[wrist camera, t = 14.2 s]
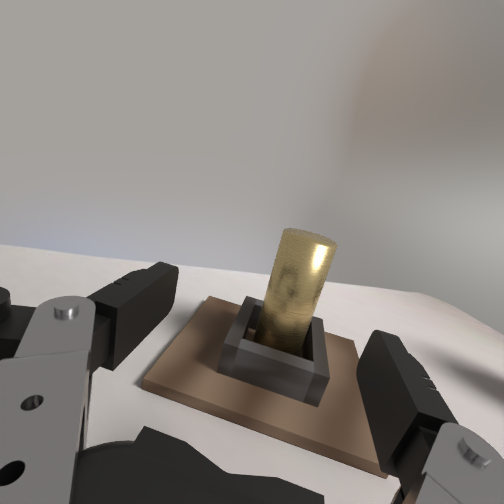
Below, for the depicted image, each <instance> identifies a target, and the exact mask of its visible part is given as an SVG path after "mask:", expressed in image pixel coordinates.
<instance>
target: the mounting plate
mask: <svg viewBox="0 0 504 504" xmlns="http://www.w3.org/2000/svg"><path fill="white" fill-rule="evenodd" d="M263 302H264V301H262V300H258V299H255V298H252V297H248V296H246V298H245V300H244V302H243V304H242V306H241V305H237V304H234V303H231V302H228V301H225V300H221V299H218V298H215V297H212V296H209V297H208V298H207V299H206V301H205V302H204V303H203V304H202V306H201V307H200V308H199V309H198V311H197V312H196V313H195V314H194V316H193V317H192V318H191V319H190V321H189V322H188V323H187V324H186V326H185V327H184V328H183V329H182V331H181V332H180V333H179V334H178V336H177V337H176V338H175V339H174V340H173V342H172V343H171V344H170V345H169V347H168V348H167V349H166V350H165V352H164V353H163V354H162V355H161V357H160V358H159V359H158V360H157V362H156V363H155V364H154V365H153V367H152V368H151V369H150V370H149V372H148V373H147V374H146V375H145V377H144V378H143V383H142V389H144V390H146V391H149V392H152V393H155V394H157V395H160V396H163V397H165V398H168V399H171V400H174V401H176V402H179V403H182V404H184V405H187V406H190V407H193V408H195V409H198V410H201V411H203V412H206V413H209V414H212V415H214V416H217V417H220V418H222V419H225V420H228V421H231V422H233V423H236V424H239V425H241V426H244V427H247V428H250V429H252V430H255V431H258V432H260V433H263V434H266V435H269V436H271V437H274V438H277V439H279V440H282V441H285V442H288V443H290V444H293V445H296V446H298V447H301V448H304V449H307V450H309V451H312V452H315V453H318V454H320V455H323V456H326V457H328V458H331V459H334V460H337V461H339V462H342V463H345V464H347V465H350V466H353V467H356V468H358V469H361V470H364V471H366V472H369V473H372V474H375V475H377V476H380V477H383V478H385V479H387V477H388V475H389V474H386V473H384V472H381V470H380V466H379V462H378V458H377V454H376V451H375V447H374V443H373V439H372V435H371V431H370V428H369V424H368V420H367V416H366V412H365V409H364V405H363V401H362V397H361V393H360V389H359V386H358V382H357V377H356V370H357V365H358V362H359V357H358V354H357V351H356V347H355V344H354V341H353V340H350V339H347V338H343V337H340V336H337V335H334V334H331V333H327V332H324V327H323V319H320V318H317V317H314V316H312V319H311V322H310V325H309V328H308V330H307V333H306V336H305V339H304V342H303V344H302V347H301V350H300V353H299V356H298V357H297V356H294V355H291V354H288V353H285V352H282V351H279V350H276V349H273V348H270V347H267V346H263V345H260V344H257V343H254V342H252V341H253V338H254V334H255V331H256V327H257V323H258V320H259V316H260V313H261V309H262V305H263Z"/></svg>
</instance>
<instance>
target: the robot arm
mask: <svg viewBox="0 0 504 504" xmlns="http://www.w3.org/2000/svg"><path fill="white" fill-rule="evenodd" d="M178 274H179V269H178V267H176V266H173V265H170V264H167V263H164V262H158V263H156V264H155V265H153V266H151V267H150V268H148V269H141V270H137V271H132V272H130V273H128V274H126V275H125V276H123V277H122V278H119V279H118V280H116V281H114V283H111V284H109V285H107V286H105V287H103V288H102V289H100V290H98V291H96V292H95V293H93V294H91V295H89V296H88V297H86V298H85V297H80V296H64V297H58V298H54V299H50V300H48V301H46V302H44V303H42V304H41V305H39V306H38V307H27V306H18V305H11V300H10V293H9V291H8V290H7V289H5V288H2V287H0V504H324V495H321V494H319V493H316V492H313V491H311V490H308V489H306V488H303V487H301V486H298V485H295V484H293V483H290V482H288V481H285V480H283V479H280V478H277V477H265V476H252V475H240V474H230V473H227V472H225V471H223V470H222V469H220V468H219V467H218V466H217V465H215V464H214V463H213V462H211V461H210V460H209V459H207V458H206V457H205V456H204V455H202V454H201V453H200V452H198V451H197V450H196V449H194V448H193V447H192V446H191V445H189V444H188V443H187V442H185V441H182V440H180V439H177V438H174V437H172V436H169V435H167V434H164V433H162V432H159V431H156V430H154V429H151V428H149V427H146V426H144V427H143V429H142V430H141V432H140V433H139V435H138V436H137V438H136V440H135V441H115V442H109V443H103V444H100V445H96V446H93V447H90V448H87V449H86V442H87V430H88V419H89V409H90V399H91V389H92V378H93V372H95V371H96V370H97V369H98V368H99V367H103V368H106V369H108V370H111V371H114V370H115V368H116V367H117V366H118V365H119V364H120V363H121V362H122V361H123V360H124V359H125V358H126V357H127V356H128V355H129V354H130V353H131V352H132V351H133V350H134V349H135V348H136V347H137V346H138V345H139V344H140V343H141V342H142V341H143V340H144V339H145V337H146V336H147V335H148V334H149V333H150V332H151V331H152V330H153V329H154V328H155V327H156V326H157V325H158V324H159V323H160V322H161V321H162V320H163V319H164V318H165V317H166V316H167V315H168V313H169V312H170V310H171V308H172V306H173V303H174V299H175V293H176V287H177V280H178ZM356 377H357V382H358V386H359V389H360V393H361V397H362V401H363V405H364V409H365V412H366V416H367V420H368V424H369V428H370V431H371V435H372V439H373V443H374V447H375V451H376V454H377V458H378V462H379V466H380V470H381V472H384V473H386V474H389V475H392V476H394V477H397V478H399V481H400V484H401V486H400V488H399V489H398V490H397V492H396V493H395V495H394V497H393V499H392V502H391V504H504V459H503V458H502V457H501V455H500V454H499V453H498V452H497V451H496V450H495V449H494V448H493V447H492V446H491V445H490V444H489V443H487V442H486V441H485V440H484V439H483V438H481V437H480V436H479V435H477V434H476V433H474V432H473V431H471V430H469V429H467V428H465V427H463V426H461V425H459V424H458V422H457V420H456V419H455V417H454V416H453V414H452V412H451V411H450V409H449V408H448V406H447V404H446V403H445V401H444V400H443V398H442V396H441V395H440V393H439V391H437V390H436V387H435V385H434V383H433V382H432V380H430V377H429V375H428V374H427V372H426V371H425V369H424V367H423V366H422V365H421V364H420V363H419V362H418V361H417V360H416V359H415V358H414V357H413V356H412V355H411V354H409V353H408V352H407V350H406V348H405V347H404V345H403V343H402V342H401V340H400V338H399V337H398V336H396V335H393V334H390V333H386V332H383V331H380V330H374V331H373V333H372V334H371V336H370V338H369V340H368V342H367V345H366V347H365V349H364V351H363V353H362V355H361V357H360V359H359V362H358V365H357V370H356Z"/></svg>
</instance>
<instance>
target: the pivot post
mask: <svg viewBox="0 0 504 504" xmlns="http://www.w3.org/2000/svg"><path fill="white" fill-rule="evenodd" d="M337 246H338V245H337V244H336V243H335V242H334V241H332V240H331V239H329V238H326V237H324V236H321V235H318V234H315V233H312V232H308V231H304V230H299V229H291V228H287V229H284V230H283V234H282V237H281V241H280V244H279V248H278V251H277V255H276V259H275V262H274V266H273V270H272V273H271V277H270V280H269V284H268V287H267V291H266V295H265V298H264V302H263V305H262V309H261V313H260V316H259V320H258V323H257V327H256V331H255V334H254V338H253V341H252V342H254V343H257V344H260V345H263V346H267V347H270V348H273V349H276V350H279V351H282V352H285V353H288V354H291V355H294V356H297V357H298V356H299V353H300V350H301V347H302V344H303V342H304V339H305V336H306V333H307V330H308V328H309V325H310V322H311V319H312V316H313V313H314V311H315V308H316V305H317V302H318V299H319V297H320V294H321V291H322V288H323V285H324V282H325V280H326V277H327V274H328V271H329V268H330V265H331V263H332V260H333V257H334V254H335V251H336V249H337Z"/></svg>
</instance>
